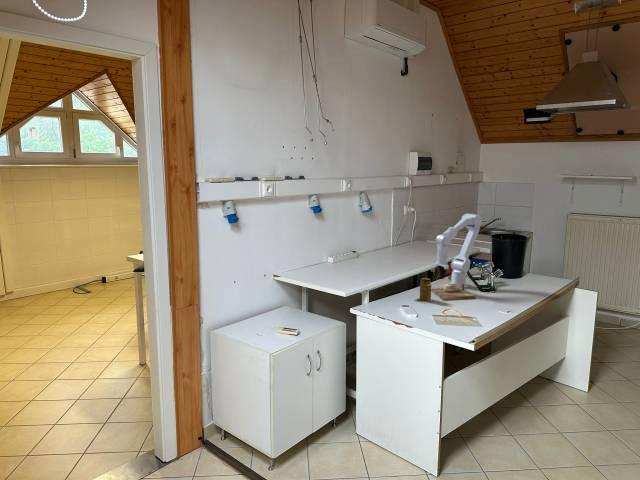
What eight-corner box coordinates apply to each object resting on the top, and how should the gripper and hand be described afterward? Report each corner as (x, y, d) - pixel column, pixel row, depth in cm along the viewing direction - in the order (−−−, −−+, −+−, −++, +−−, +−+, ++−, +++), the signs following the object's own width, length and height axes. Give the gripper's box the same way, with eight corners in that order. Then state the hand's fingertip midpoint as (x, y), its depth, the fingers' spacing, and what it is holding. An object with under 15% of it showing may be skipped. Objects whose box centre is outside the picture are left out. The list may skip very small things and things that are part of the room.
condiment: (434, 300, 260) (434, 278, 257) (425, 303, 254) (425, 281, 252) (422, 297, 265) (423, 276, 263) (413, 300, 259) (414, 279, 257)
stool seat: (431, 291, 276) (431, 288, 276) (461, 289, 278) (461, 286, 278) (443, 300, 258) (443, 297, 258) (474, 298, 261) (475, 295, 260)
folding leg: (462, 288, 274) (462, 283, 273) (465, 290, 270) (465, 285, 270) (443, 289, 272) (443, 284, 272) (445, 291, 269) (445, 286, 268)
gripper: (431, 253, 281) (430, 275, 283) (440, 258, 267) (439, 282, 269) (442, 252, 282) (442, 275, 284) (452, 258, 268) (451, 281, 270)
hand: (441, 278), depth 277 cm, fingers closed
